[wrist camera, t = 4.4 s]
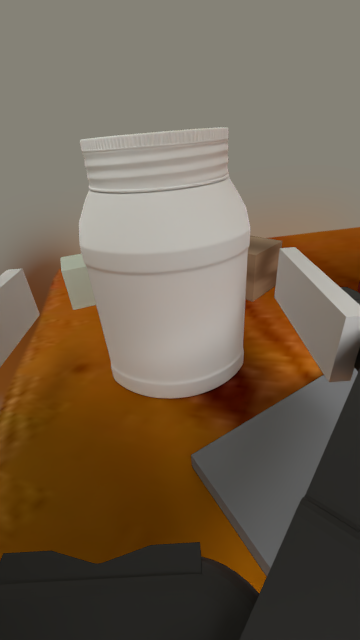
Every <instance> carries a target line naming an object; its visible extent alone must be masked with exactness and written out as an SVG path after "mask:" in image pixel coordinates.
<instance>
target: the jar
mask: <svg viewBox="0 0 360 640" xmlns="http://www.w3.org/2000/svg"><path fill="white" fill-rule="evenodd" d="M227 142H228V128H227V127H221V128H220V127H219V128H203V129H191V130H190V129H189V130H176V131H164V132H152V133H141V134H129V135H119V136H108V137H99V138H90V139H83V140H80V146H81V150H82V153H83V156H84V159H85V164H84V166H85V168H86V170H87V179H88V180H89V183H90V185H89V186H88V188H89V192H88V195H87V196H86V199H85V202H84V205H83V209H82V213H81V217H80V221H79V243H80V249H81V253H82V257H83V261H84V263H85V265H86V267H87V270H88V274H89V278H90V282H91V286H92V290H93V294H94V298H95V301H96V305H97V309H98V313H99V317H100V321H101V325H102V329H103V333H104V337H105V340H106V344H107V348H108V352H109V356H110V360H111V369H112V373H113V377H114V379H115V381H117V382H118V383H119V384H120V385H122V386H123V387H125V388H126V389H128V390H130V391H132V392H135V393H138V394H141V395H144V396H149V397H155V398H184V397H190V396H195V395H199V394H202V393H205V392H208V391H210V390H213V389H215V388H217V387H219V386H221V385H222V384H224V383H225V382H227V381H228V380H229V379H231V378H232V377H233V376H234V375H235V374H236V373H237V372H238V371H239V369H240V368H241V366H242V365H243V359H244V349H243V335H244V316H245V296H246V277H247V257H248V248H249V245H250V223H249V219H248V214H247V209H246V206H245V204H244V202H243V201H242V198H241V197H240V195H239V193H238V191H237V189H236V188H235V186H234V185H233V183H232V182H231V180H230V178H229V173H228V168H227V164H228V160H229V159H228V156H227V152H228V149H229V147H228V144H227Z"/></svg>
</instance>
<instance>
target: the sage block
mask: <svg viewBox="0 0 360 640" xmlns="http://www.w3.org/2000/svg"><path fill="white" fill-rule="evenodd" d="M61 272H62V275H63V278H64V281H65V285H66V288H67V291H68V294H69V297H70V301H71V304H72V307H73V310H75V309H80V308H84V307H89V306H93V305H96V301H95V298H94V294H93V290H92V286H91V282H90V278H89V274H88V270H87V267H86V265H85V263H84V261H83V257H82V254H78V255H72V256H66V257H61Z"/></svg>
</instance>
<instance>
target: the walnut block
mask: <svg viewBox="0 0 360 640" xmlns="http://www.w3.org/2000/svg"><path fill="white" fill-rule="evenodd" d="M281 247H282V241H279V240H273V239H267V238H261V237H255V236H250V245H249V248H248V257H247V277H246V296H245V299H246V300H249V301H252V302H253V301H254V300H256V299H257V298H259V297H260V296H262V295H263V294H264V293H266V292H267V291H269V290H270V289H272V288H273V287H274V286H276V278H277V269H278V260H279V250H280V248H281Z"/></svg>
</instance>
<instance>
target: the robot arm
mask: <svg viewBox="0 0 360 640" xmlns="http://www.w3.org/2000/svg"><path fill="white" fill-rule="evenodd" d="M274 297H275V299H276V300H277V302H278V304H279V305H280V307H281V308H282V310H283V311H284V313H285V315H286V316H287V318H288V319H289V321H290V322H291V324H292V325H293V327H294V329H295V330H296V332H297V333H298V335H299V336H300V338H301V340H302V341H303V343H304V344H305V346H306V347H307V349H308V351H309V352H310V354H311V355H312V357H313V358H314V360H315V361H316V363H317V365H318V366H319V368H320V369H321V371H322V372H323V374H324V376H325V377H326V379H327V380H328V382H342V381H351V377H352V374H353V371H354V368H355V369H356V370H357V371H358V374H357V376H356V378H355V381H354V383H353V385H352V388H351V390H350V392H349V395H348V397H347V399H346V402H345V404H344V406H343V409H342V411H341V413H340V416H339V418H338V420H337V422H336V425H335V427H334V429H333V432H332V434H331V436H330V439H329V441H328V443H327V446H326V448H325V450H324V453H323V455H322V457H321V460H320V462H319V464H318V467H317V469H316V471H315V474H314V476H313V478H312V481H311V483H310V485H309V488H308V490H307V492H306V494H305V496H304V497H302V499H301V501H300V503H299V505H298V507H297V509H296V512H295V514H294V516H293V518H292V521H291V523H290V525H289V528H288V530H287V532H286V534H285V537H284V539H283V541H282V544H281V546H280V548H279V550H278V553H277V555H276V557H275V560H274V562H273V564H272V566H271V569H270V571H269V573H268V576H267V578H266V580H265V582H264V585H263V587H262V589H261V592H260V594H259V593H258V592H257V591H256V590H255V589H254V588H253V587H252V586H251V585H250V584H249V582H247V581H246V580H245V579H244V578H243V577H241V576H240V575H239V574H238V573H236V572H235V571H233V570H232V569H230V568H228V567H227V566H225V565H223V564H221V563H219V562H216V561H214V560H211V559H208V558H205V557H201V550H200V542H195V543H177V544H160V545H150V546H147V547H144V548H142V549H139V550H136V551H134V552H131V553H128V554H125V555H123V556H120V557H117V558H115V559H112V560H109V561H106V562H104V563H100V564H95V563H91V562H87V561H84V560H81V559H77V558H74V557H70V556H67V555H64V554H60V553H57V552H54V551H37V552H20V553H3V556H2V558H1V560H0V640H360V293H358V292H357V291H354V290H352V289H350V288H347V287H339V286H338V285H337V284H336V283H335V282H333V281H332V280H331V279H330V278H329V277H328V276H327V275H326V274H325V273H323V272H322V271H321V270H320V269H319V268H318V267H317V266H316V265H314V264H313V263H312V262H311V261H310V260H309V259H308V258H307V257H305V256H304V255H303V254H302V253H301V252H300V251H299V250H298V249H296V248H295V247H291V248H280V250H279V260H278V269H277V278H276V287H275V296H274ZM39 315H40V314H39V311H38V309H37V306H36V303H35V301H34V298H33V296H32V293H31V290H30V288H29V285H28V283H27V280H26V277H25V275H24V272H23V269H11V270H7V271H5V272H4V273H3V274H2V275H0V367H1V365H2V364H3V363H4V362H5V360H6V359H7V358H8V356H9V355H10V353H11V352H12V351H13V350H14V348H15V347H16V346H17V344H18V343H19V342H20V340H21V339H22V338H23V336H24V335H25V333H26V332H27V331H28V330H29V328H30V327H31V326H32V324H33V323H34V322H35V320H36V319H37V318H38V316H39ZM201 561H202V562H201Z"/></svg>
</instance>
